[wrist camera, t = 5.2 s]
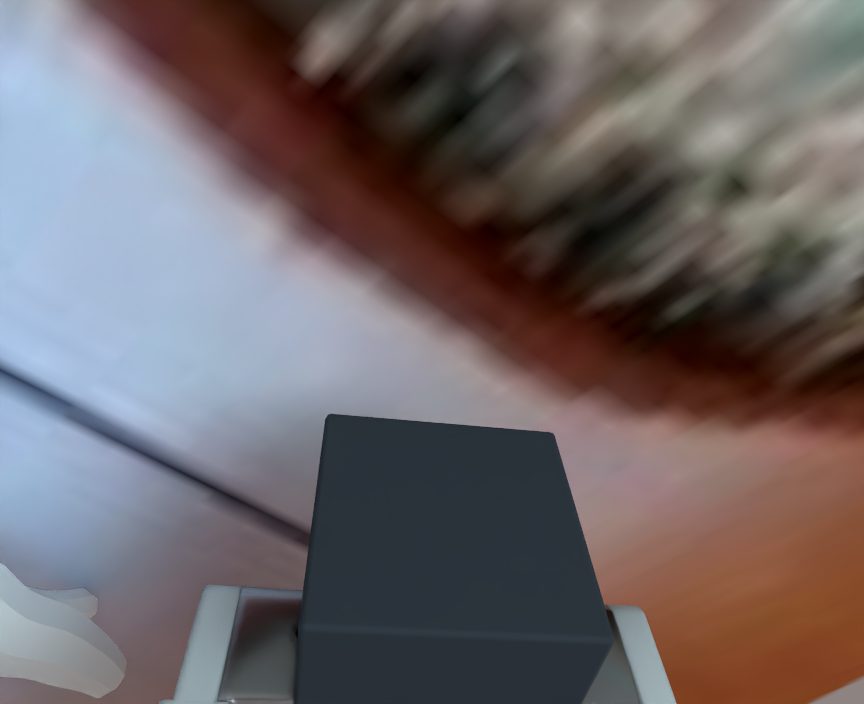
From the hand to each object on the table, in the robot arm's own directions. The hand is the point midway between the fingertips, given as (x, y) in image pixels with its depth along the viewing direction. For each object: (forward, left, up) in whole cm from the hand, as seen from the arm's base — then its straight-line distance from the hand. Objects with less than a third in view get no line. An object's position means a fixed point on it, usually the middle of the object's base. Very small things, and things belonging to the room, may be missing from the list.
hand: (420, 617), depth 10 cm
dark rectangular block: (0, 0, -2) cm, 2 cm away
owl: (-19, -2, -5) cm, 19 cm away
